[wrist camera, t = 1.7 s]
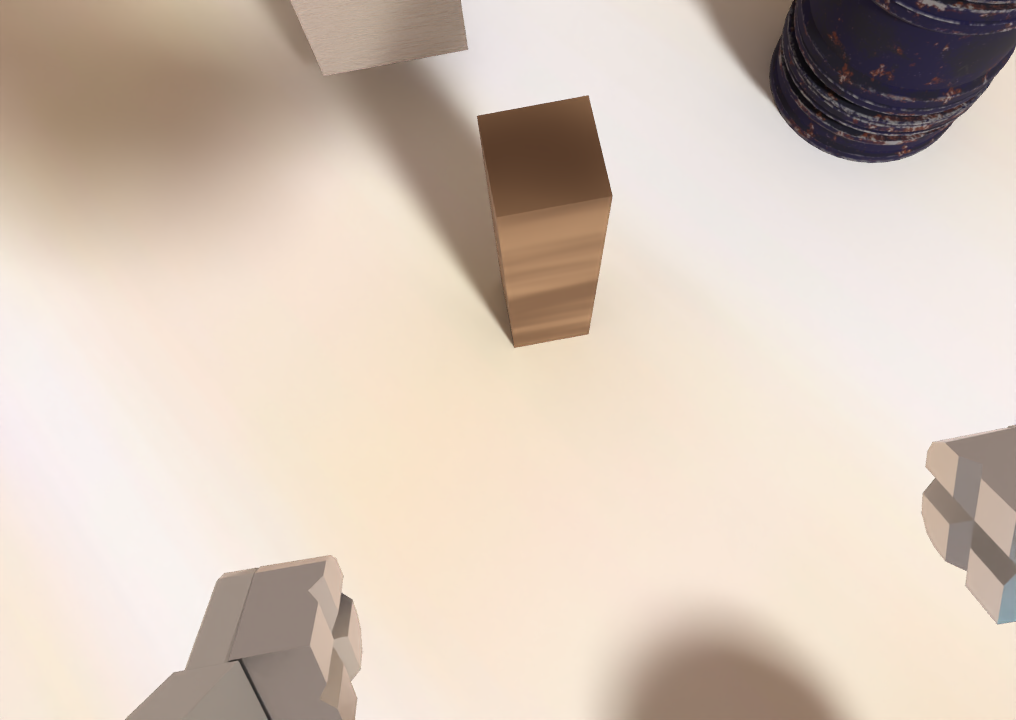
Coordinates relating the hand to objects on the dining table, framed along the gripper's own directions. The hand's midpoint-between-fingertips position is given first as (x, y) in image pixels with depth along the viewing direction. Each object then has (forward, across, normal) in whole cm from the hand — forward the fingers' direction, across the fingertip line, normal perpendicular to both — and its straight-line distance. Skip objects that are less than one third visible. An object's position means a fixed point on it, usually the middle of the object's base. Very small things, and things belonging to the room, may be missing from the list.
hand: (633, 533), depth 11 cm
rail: (+26, 0, +9) cm, 27 cm away
